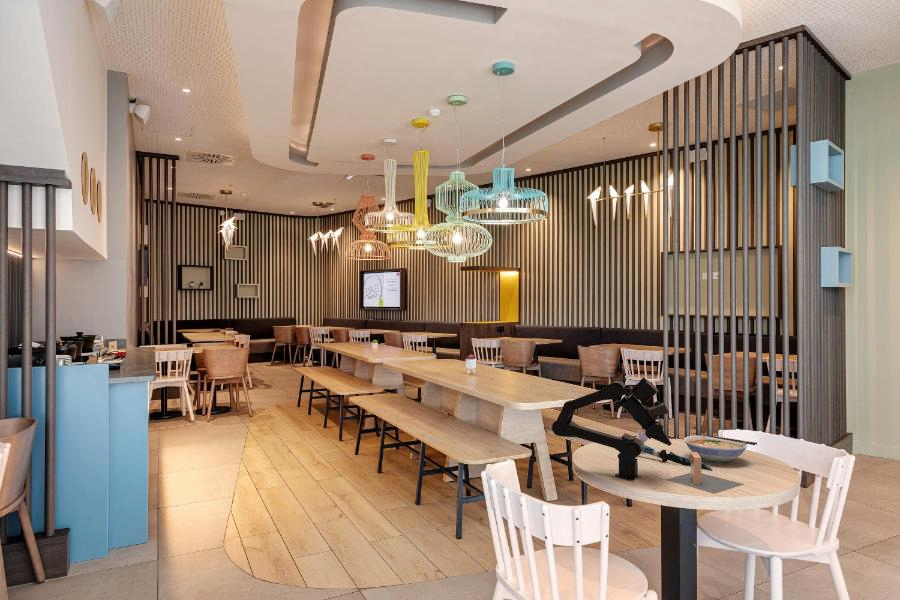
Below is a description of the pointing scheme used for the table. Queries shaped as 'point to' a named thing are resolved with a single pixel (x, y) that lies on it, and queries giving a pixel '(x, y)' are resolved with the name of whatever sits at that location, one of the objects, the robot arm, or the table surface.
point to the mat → (706, 483)
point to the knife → (671, 457)
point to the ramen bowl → (716, 447)
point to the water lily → (642, 436)
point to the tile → (696, 468)
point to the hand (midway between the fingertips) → (670, 444)
